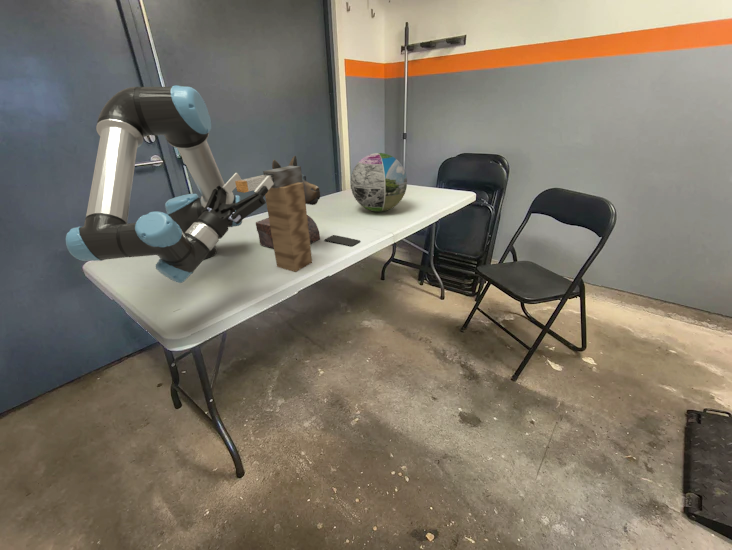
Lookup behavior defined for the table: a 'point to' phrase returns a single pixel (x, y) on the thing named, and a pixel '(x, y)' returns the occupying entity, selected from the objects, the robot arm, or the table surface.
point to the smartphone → (342, 240)
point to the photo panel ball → (378, 182)
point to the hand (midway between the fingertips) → (254, 177)
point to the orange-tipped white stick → (251, 183)
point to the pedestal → (288, 218)
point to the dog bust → (310, 198)
